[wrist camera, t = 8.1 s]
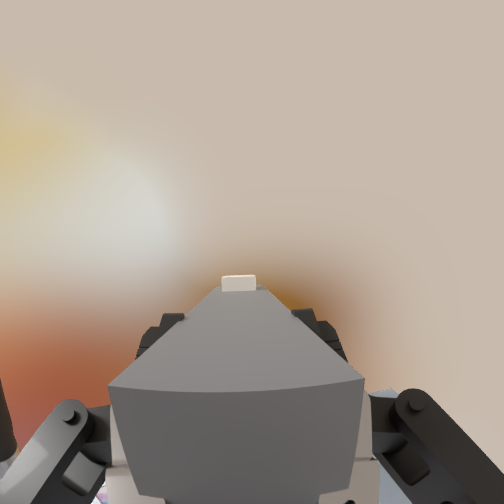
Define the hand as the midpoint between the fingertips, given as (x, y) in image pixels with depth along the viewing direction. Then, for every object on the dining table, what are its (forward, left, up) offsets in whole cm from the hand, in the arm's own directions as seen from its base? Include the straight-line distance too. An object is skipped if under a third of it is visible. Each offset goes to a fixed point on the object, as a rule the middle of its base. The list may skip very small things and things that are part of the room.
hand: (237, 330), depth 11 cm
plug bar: (-3, +3, -3) cm, 5 cm away
